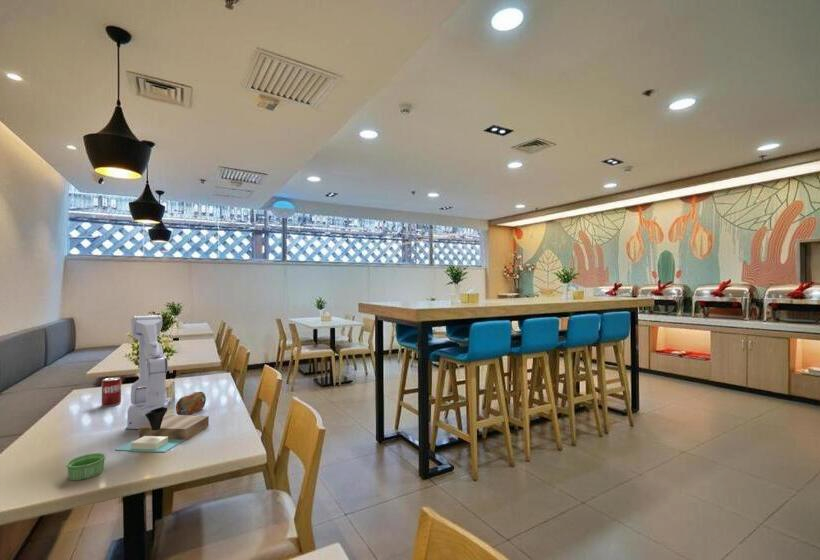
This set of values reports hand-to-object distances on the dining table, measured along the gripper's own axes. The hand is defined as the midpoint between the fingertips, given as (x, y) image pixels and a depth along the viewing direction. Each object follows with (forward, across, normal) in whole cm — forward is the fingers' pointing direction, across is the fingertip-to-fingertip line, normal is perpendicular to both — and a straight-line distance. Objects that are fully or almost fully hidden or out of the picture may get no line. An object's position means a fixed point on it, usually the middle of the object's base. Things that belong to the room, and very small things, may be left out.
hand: (155, 429), depth 139 cm
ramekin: (+5, -23, +4) cm, 24 cm away
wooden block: (+5, +10, 0) cm, 11 cm away
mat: (+5, -2, 0) cm, 5 cm away
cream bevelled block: (+2, -3, 0) cm, 4 cm away
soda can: (+5, +39, +53) cm, 66 cm away
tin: (+5, +31, +8) cm, 32 cm away
